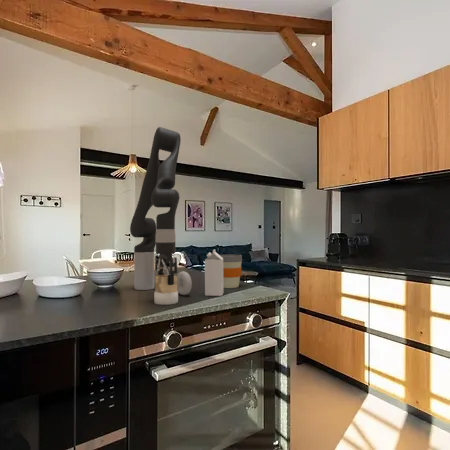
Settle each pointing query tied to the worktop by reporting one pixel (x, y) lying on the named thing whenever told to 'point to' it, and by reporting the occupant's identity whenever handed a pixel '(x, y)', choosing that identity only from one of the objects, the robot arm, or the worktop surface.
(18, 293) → the worktop surface
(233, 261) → the reusable coffee cup
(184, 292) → the donut
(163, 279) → the maple cube
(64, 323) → the worktop surface
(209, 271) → the milk carton
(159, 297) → the pedestal
